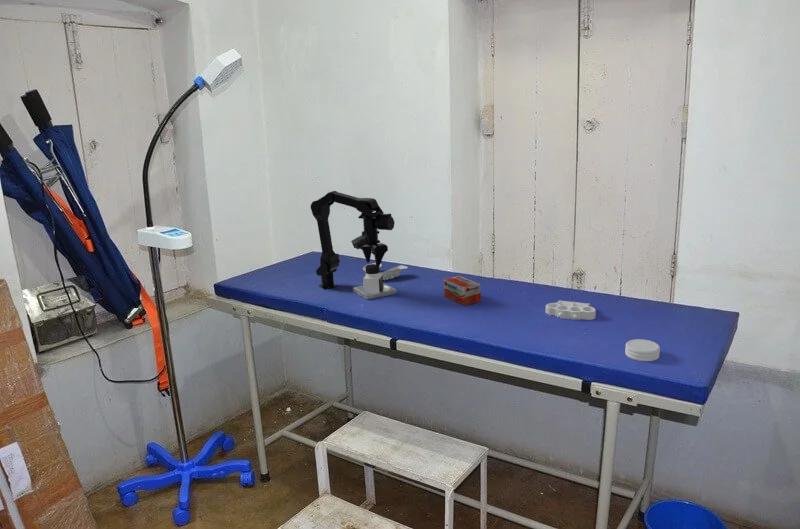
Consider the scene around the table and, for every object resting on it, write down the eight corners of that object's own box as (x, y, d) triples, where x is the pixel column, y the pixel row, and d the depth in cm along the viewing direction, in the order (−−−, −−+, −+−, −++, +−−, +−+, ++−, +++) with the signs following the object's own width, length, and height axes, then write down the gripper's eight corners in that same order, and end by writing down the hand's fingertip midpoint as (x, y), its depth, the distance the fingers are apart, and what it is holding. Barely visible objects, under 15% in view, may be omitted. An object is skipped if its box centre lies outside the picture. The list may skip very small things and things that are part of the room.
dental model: (350, 279, 278) (349, 269, 277) (372, 270, 292) (371, 260, 290) (389, 285, 265) (389, 275, 264) (411, 275, 279) (410, 265, 277)
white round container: (652, 365, 177) (653, 354, 176) (619, 356, 183) (620, 346, 183) (664, 353, 184) (665, 343, 183) (632, 346, 191) (632, 336, 190)
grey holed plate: (598, 310, 223) (592, 324, 211) (550, 305, 231) (542, 318, 219) (599, 302, 222) (593, 315, 210) (551, 297, 230) (542, 309, 218)
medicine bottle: (379, 294, 252) (378, 267, 249) (363, 294, 254) (362, 267, 250) (383, 289, 259) (382, 262, 255) (368, 288, 260) (366, 262, 257)
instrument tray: (353, 291, 259) (352, 287, 258) (381, 285, 265) (381, 281, 265) (367, 299, 247) (366, 295, 247) (396, 293, 254) (396, 289, 253)
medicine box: (481, 302, 238) (481, 283, 236) (465, 306, 234) (464, 287, 232) (458, 293, 250) (458, 275, 248) (443, 297, 247) (442, 278, 244)
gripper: (344, 228, 253) (346, 263, 257) (363, 235, 237) (365, 272, 241) (367, 224, 258) (369, 259, 262) (387, 231, 242) (389, 267, 246)
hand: (372, 264), depth 253 cm, fingers open, 9 cm apart
